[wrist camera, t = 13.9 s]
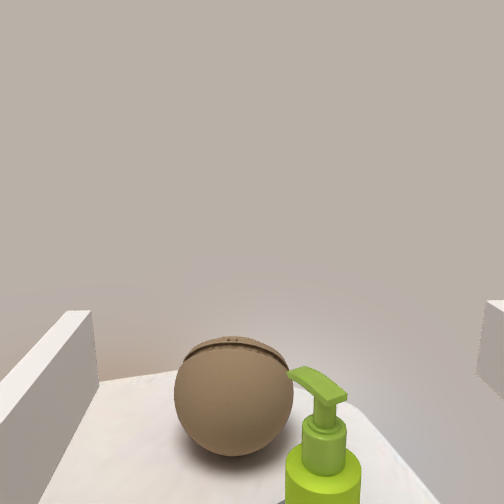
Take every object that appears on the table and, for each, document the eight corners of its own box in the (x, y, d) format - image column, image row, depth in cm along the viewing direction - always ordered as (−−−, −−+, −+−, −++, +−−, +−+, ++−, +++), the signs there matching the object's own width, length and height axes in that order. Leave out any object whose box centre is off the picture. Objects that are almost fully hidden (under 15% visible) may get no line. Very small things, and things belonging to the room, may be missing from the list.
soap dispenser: (317, 543, 42) (323, 354, 37) (368, 607, 36) (383, 393, 32) (265, 572, 39) (264, 372, 35) (312, 646, 34) (318, 418, 29)
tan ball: (315, 445, 57) (319, 339, 53) (224, 507, 47) (221, 383, 43) (242, 396, 68) (240, 305, 64) (156, 438, 58) (148, 334, 54)
